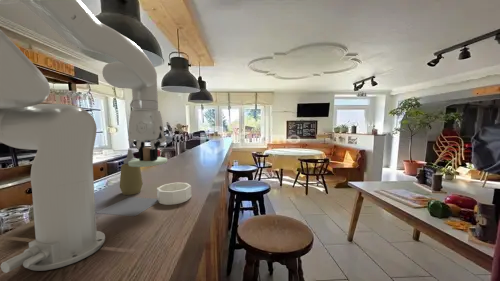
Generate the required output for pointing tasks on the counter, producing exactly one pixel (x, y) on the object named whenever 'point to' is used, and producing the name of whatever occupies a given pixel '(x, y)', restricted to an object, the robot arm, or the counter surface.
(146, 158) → the lid
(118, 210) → the mat
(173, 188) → the bowl
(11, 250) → the counter surface
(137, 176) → the squeeze bottle
